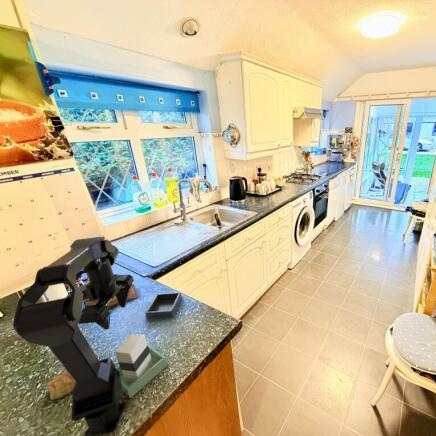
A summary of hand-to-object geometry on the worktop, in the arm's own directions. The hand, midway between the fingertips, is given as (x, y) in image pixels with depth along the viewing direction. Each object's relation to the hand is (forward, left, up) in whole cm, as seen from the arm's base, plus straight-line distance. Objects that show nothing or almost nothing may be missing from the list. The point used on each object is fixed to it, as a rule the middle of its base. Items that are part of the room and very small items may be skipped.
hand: (115, 317), depth 75 cm
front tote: (-10, -9, -13) cm, 19 cm away
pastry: (-11, +10, -13) cm, 20 cm away
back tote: (+17, -7, -13) cm, 23 cm away
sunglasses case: (+24, +16, -13) cm, 32 cm away
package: (-10, -9, -13) cm, 19 cm away
